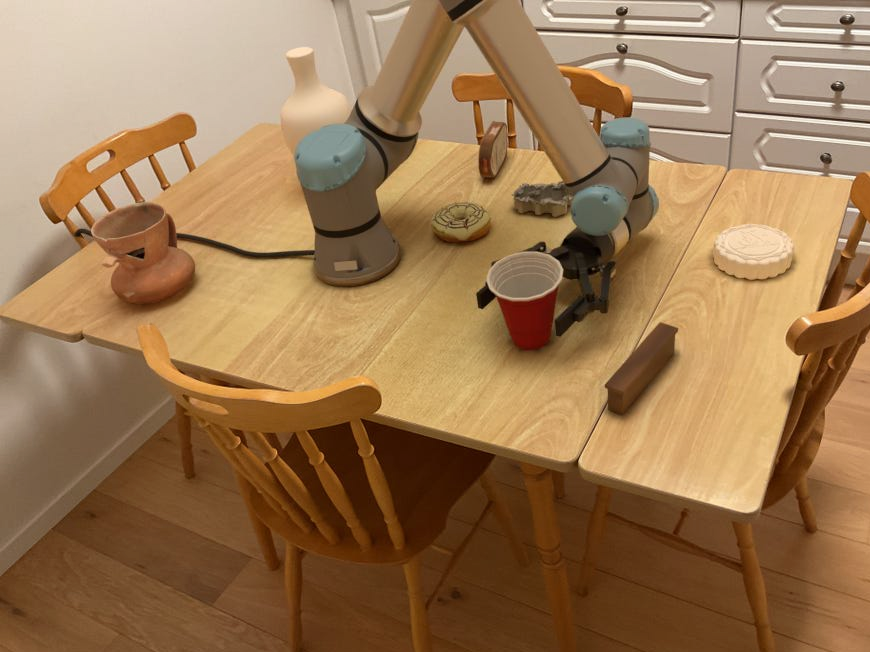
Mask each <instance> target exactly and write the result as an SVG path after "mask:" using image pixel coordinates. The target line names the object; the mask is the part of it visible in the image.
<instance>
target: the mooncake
mask: <svg viewBox="0 0 870 652" xmlns="http://www.w3.org/2000/svg"><path fill="white" fill-rule="evenodd" d="M794 249H795V245H794V243H793V239H792V238H791V237H789V236H788V234H787V233H786V232H785V231H782V230H780V229H779V228H777V227H770V226H769V225H766V224H765V225H764V224H763V223H762V224H757V223H748V224H744V223H743V224H740V225H739V226H738V225H737V226H736V225H735V226H731V227H729V228H728V229H724V230H722V231H721V233H720V234H718V235H717V236H716V238H715V240H714V242H713V252H712V253H713V254H712V257H713V260H714V261H713V262H714V264H715V265H716V266H717V267H718V269H719V270H721V271H723V272H725V274H727V275H730V276H734V277H735V278H737V279H744V278H745V279H746V280H748V281H749V280H751V281H752V280H753V281H754V280H757V279H758V280H766V279H768V278H776V277H777V276H778V275H780V274H781V275H782V274H784V273H785V272H786V270H787V269H789V268H790V267H791V265H792V262H793V256H794V251H795V250H794Z"/></svg>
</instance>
